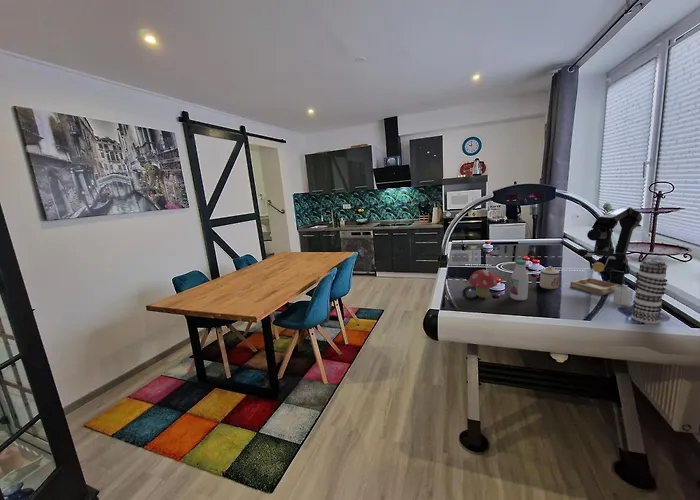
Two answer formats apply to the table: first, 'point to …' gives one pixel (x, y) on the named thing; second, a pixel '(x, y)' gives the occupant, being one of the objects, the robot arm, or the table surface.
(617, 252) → the robot arm
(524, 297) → the milk bottle
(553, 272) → the teacup with lid
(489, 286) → the decorative mushroom
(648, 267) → the decorative candle
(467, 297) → the table surface
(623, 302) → the cup
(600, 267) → the ball
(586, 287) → the tray
